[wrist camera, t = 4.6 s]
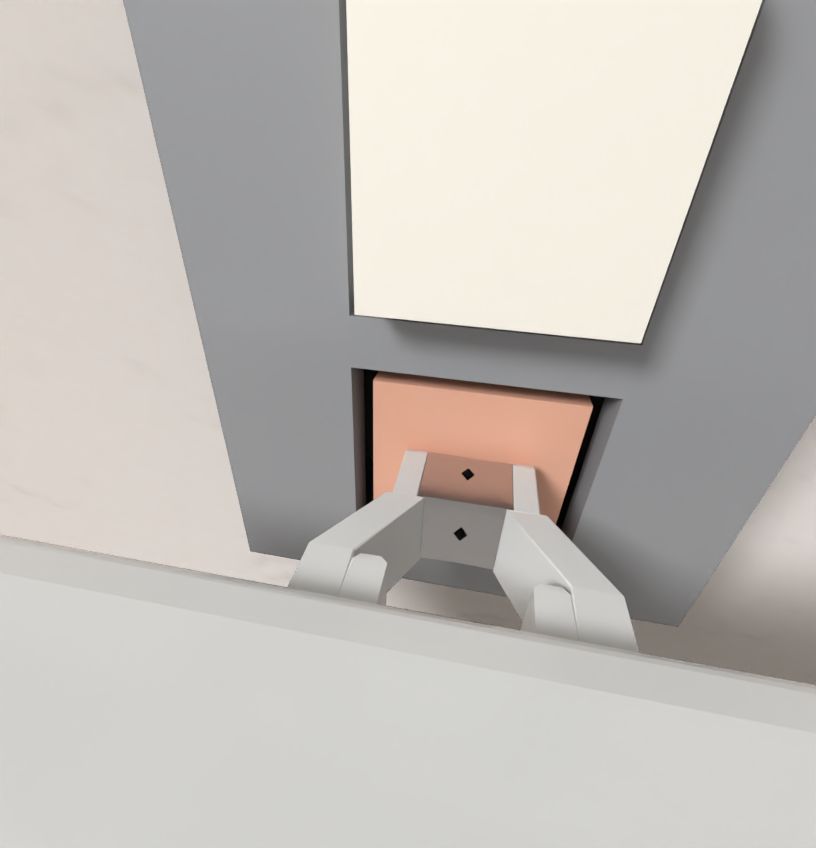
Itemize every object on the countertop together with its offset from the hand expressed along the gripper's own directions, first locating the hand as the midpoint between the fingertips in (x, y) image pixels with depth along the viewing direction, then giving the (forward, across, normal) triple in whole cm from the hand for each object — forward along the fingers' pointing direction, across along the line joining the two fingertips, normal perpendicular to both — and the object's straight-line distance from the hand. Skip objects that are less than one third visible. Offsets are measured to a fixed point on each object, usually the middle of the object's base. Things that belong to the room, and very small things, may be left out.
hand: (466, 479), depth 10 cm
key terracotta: (+2, 0, 0) cm, 2 cm away
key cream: (+1, 0, -7) cm, 7 cm away
